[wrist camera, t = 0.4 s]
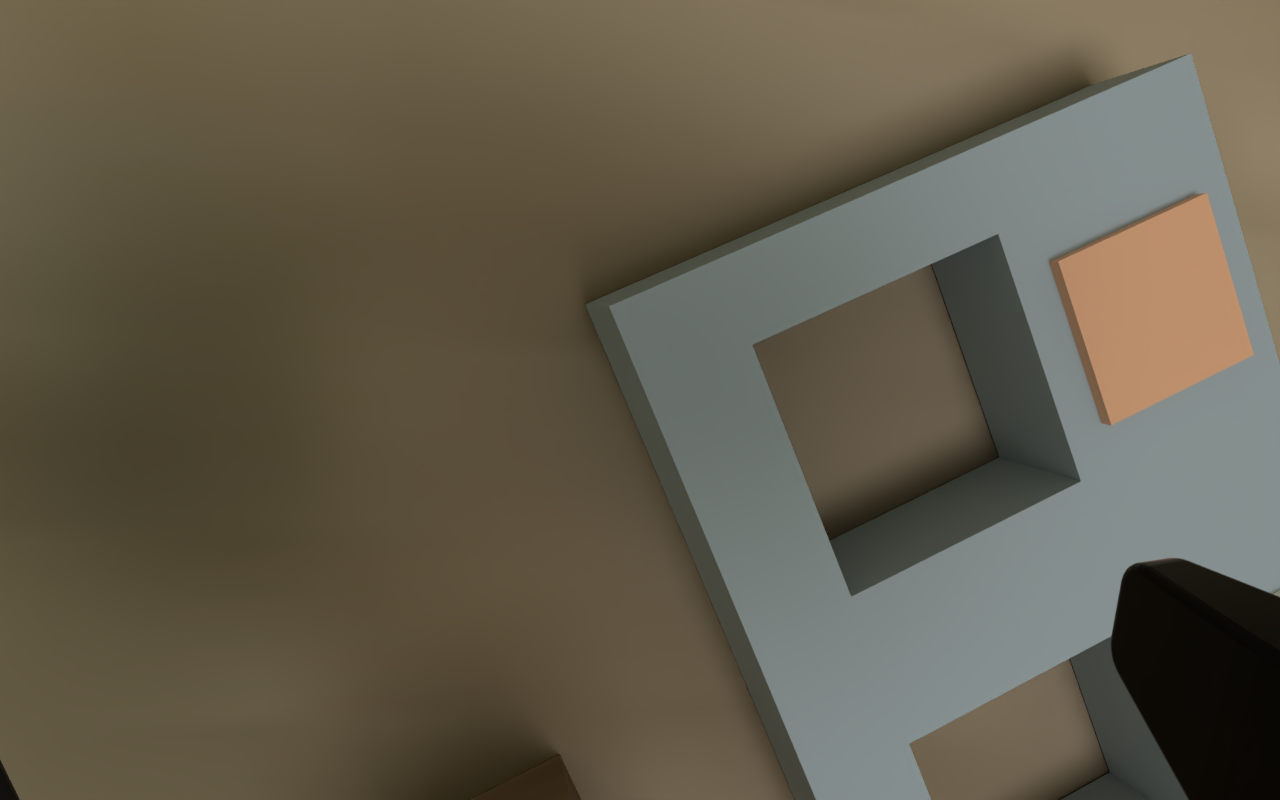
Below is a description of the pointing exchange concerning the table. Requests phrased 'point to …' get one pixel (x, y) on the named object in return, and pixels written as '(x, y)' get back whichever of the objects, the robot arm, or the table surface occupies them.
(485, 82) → the table surface
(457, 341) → the table surface
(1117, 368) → the socket block
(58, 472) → the table surface
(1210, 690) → the robot arm
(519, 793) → the peg
